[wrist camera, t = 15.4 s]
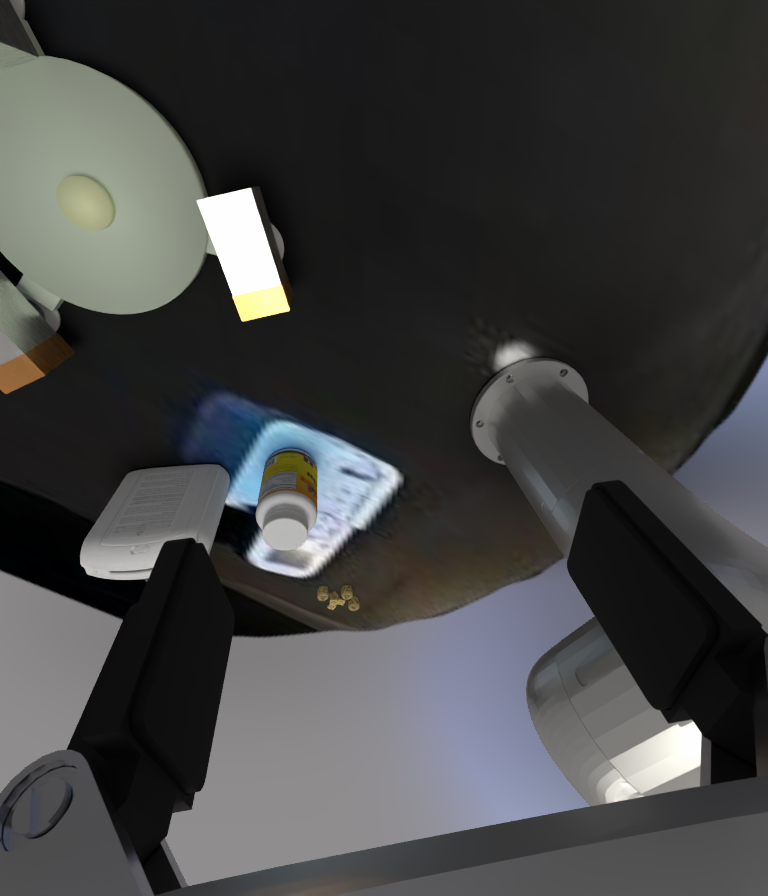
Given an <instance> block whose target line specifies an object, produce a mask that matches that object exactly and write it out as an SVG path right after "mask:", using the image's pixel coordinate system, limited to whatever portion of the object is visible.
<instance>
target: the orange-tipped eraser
mask: <svg viewBox="0 0 768 896" xmlns="http://www.w3.org/2000/svg"><path fill="white" fill-rule="evenodd" d="M39 58H40V57H39V55H38V53H37V51H36V49H35V47H34V46H33V44H32V42H31V40H30V38H29V36H28V34H27V32H26V30H25V29H24V27H23V25H22V23H21V21H20V19H19V17H18V15H17V13H16V12H15V10H14V8H13V6H12V4H11V2H10V0H0V70H3V69H7V68H10V67H13V66H16V65H20V64H23V63H26V62H29V61H32V60H36V59H39Z"/></svg>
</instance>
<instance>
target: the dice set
mask: <svg viewBox="0 0 768 896" xmlns="http://www.w3.org/2000/svg"><path fill="white" fill-rule="evenodd" d="M341 593H342V598H338V594H337V593H336V591H334V592H331V593H329V596H330V603H329V604H328V606H327V608H329V609H334V608H335V607H336V606H337V604H340V605H343V604H344V603H345V601H346V600H348V607H349V609H350V610H351V611H356V610H358V609H359V599H358V598H357V597H355V596H353V593H352V587H351V586H350V585H344V586H342V589H341ZM352 596H353V597H352ZM337 598H338V599H337ZM317 599H319V600H320V601H325V600H327V599H328V587H326V586H320V587H318V590H317Z"/></svg>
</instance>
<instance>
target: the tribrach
mask: <svg viewBox="0 0 768 896" xmlns="http://www.w3.org/2000/svg"><path fill="white" fill-rule="evenodd" d="M10 2H11V4H12V6H13V8H14V10H15V12H16V13H17V15H18V17H19V19H20V21H21V23H22V25H23V27H24V29H25V30H26V32H27V34H28V36H29V38H30V40H31V42H32V44H33V46H34V47H35V49H36V51H37V53H38V55H39V57H40V58H39V59H36V60H32V61H29V62H26V63H23V64H20V65H16V66H13V67H10V68H7V69H3V70H0V251H1V253H2V254H3V255H4V256H5V257H6V258H7V259H8V260H9V261H10V262H11V263H12V264H13V265H14V266H15V267H16V268H17V269H18V270H19V271H21V272H22V273H23V274H24V275H23V277H22V278H21V280H20V282H19V283H18V285H17V286H15V287H16V288H17V290H18V291H19V292H20V293H21V294H22V295H23V296H24V297H25V298H26V299H28V300H31V301H33V302H35V303H36V304H37V305H38V306H39V307H40V308H41V309H42V310H43V312H44V314H45V321H46V322H47V323H48V324H49V325H50V326H51V327H52V329H53V330H54V331H55V332H56V331H57V330H58V328H59V326H60V323H61V318H60V313H59V311H58V308H59V307H60V306H61V304H62V303H63V301H64V300H65V301H68V302H70V303H72V304H75V305H77V306H80V307H83V308H86V309H90V310H93V311H98V312H103V313H111V314H135V313H141V312H146V311H149V310H153V309H156V308H158V307H160V306H162V305H164V304H166V303H168V302H170V301H171V300H173V299H174V298H175V297H177V296H178V295H179V294H180V293H181V292H183V291H184V290H185V289H186V288H187V287H188V286H189V285H190V284H191V283H192V282H193V281H194V279H195V278H196V276H197V275H198V274H199V272H200V270H201V268H202V266H203V264H204V262H205V260H206V257H207V254H208V253H210V254H214V255H217V252H216V250H215V247H214V244H213V242H212V239H211V237H210V234H209V231H208V229H207V226H206V224H205V221H204V218H203V216H202V213H201V211H200V208H199V205H198V203H197V200H200V199H204V198H208V194H207V191H206V188H205V184H204V181H203V178H202V176H201V173H200V171H199V169H198V166H197V164H196V162H195V160H194V158H193V156H192V155H191V153H190V151H189V149H188V148H187V146H186V144H185V143H184V141H183V140H182V139H181V137H180V136H179V134H178V133H177V131H176V130H175V129H174V128H173V127H172V125H171V124H170V123H169V122H168V121H167V120H166V118H165V117H164V116H163V115H162V114H161V113H160V112H159V111H158V110H157V109H156V108H155V107H154V106H153V105H151V104H150V103H149V102H148V101H147V100H146V99H144V98H143V97H142V96H140V95H139V94H138V93H137V92H135V91H134V90H132V89H131V88H129V87H128V86H126V85H124V84H123V83H121V82H120V81H118V80H116V79H114V78H112V77H110V76H107V75H105V74H103V73H101V72H99V71H97V70H94V69H92V68H90V67H88V66H85V65H82V64H79V63H76V62H73V61H70V60H67V59H61V58H56V57H50V56H45V55H44V53H43V51H42V49H41V47H40V45H39V43H38V41H37V39H36V37H35V36H34V34H33V32H32V30H31V28H30V26H29V24H28V22H27V21H26V20H24V17H25V0H10ZM271 226H272V230H273V233H274V236H275V239H276V243H277V246H278V249H279V253H280V256H281V259H282V258H283V255H284V243H283V240H282V237H281V235H280V233H279V231H278V230H277V229H276V227H275V226H274V225H273V224H271Z"/></svg>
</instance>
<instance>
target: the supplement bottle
mask: <svg viewBox="0 0 768 896" xmlns="http://www.w3.org/2000/svg"><path fill="white" fill-rule="evenodd" d="M316 519H317V467H316V464H315V462H314V460H313V459H312V458H311V457H310V456H309V455H308V454H307V453H305V452H303V451H301V450H297V449H283V450H280V451H277V452H276V453H274V454H273V455H271V456H270V457H269V459H268V460H267V462H266V464H265V468H264V472H263V477H262V483H261V488H260V493H259V499H258V504H257V509H256V520H257V523H258V525H259V526H260V528H261V529H262V537H263V540H264V541H265V543H266V544H267V545H269V546H270V547H272V548H274V549H277V550H293V549H296V548H298V547H300V546H301V545H303V544H304V542H305V541H306V539H307V536H308V532H309V531H310V530H311V529H312V528H313V526H314V524H315V522H316Z"/></svg>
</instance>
